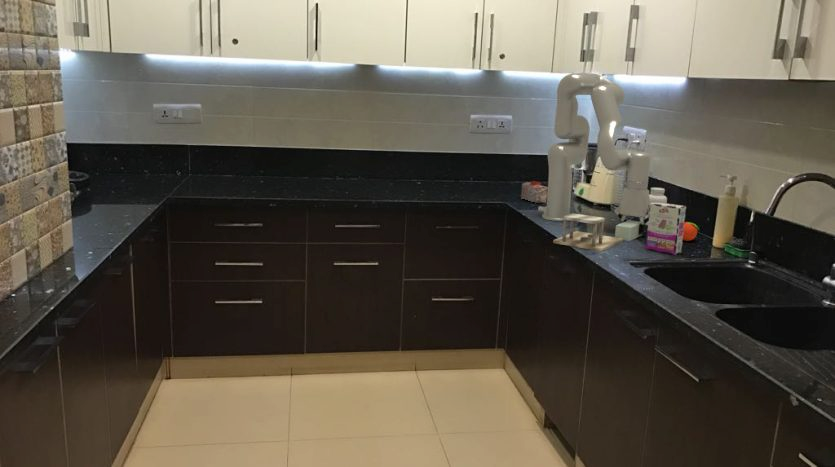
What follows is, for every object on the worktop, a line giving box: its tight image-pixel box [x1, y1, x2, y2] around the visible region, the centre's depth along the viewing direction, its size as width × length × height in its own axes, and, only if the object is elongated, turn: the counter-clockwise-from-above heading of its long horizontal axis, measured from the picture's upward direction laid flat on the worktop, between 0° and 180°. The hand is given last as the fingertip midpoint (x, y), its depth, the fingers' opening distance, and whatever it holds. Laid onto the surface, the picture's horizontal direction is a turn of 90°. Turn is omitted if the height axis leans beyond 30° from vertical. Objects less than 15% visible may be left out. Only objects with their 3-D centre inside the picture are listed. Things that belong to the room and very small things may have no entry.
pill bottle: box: [645, 187, 668, 226], centre depth 283 cm, size 8×8×15 cm
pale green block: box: [614, 219, 643, 242], centre depth 261 cm, size 6×13×5 cm, turn 144°
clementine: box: [683, 221, 700, 242], centre depth 257 cm, size 8×7×7 cm
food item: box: [520, 180, 548, 204], centre depth 329 cm, size 14×8×10 cm, turn 30°
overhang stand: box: [552, 213, 624, 252], centre depth 250 cm, size 18×20×10 cm
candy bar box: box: [645, 202, 687, 256], centre depth 240 cm, size 11×5×16 cm, turn 45°
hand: (632, 232), depth 264 cm, fingers closed on pale green block, 5 cm apart
